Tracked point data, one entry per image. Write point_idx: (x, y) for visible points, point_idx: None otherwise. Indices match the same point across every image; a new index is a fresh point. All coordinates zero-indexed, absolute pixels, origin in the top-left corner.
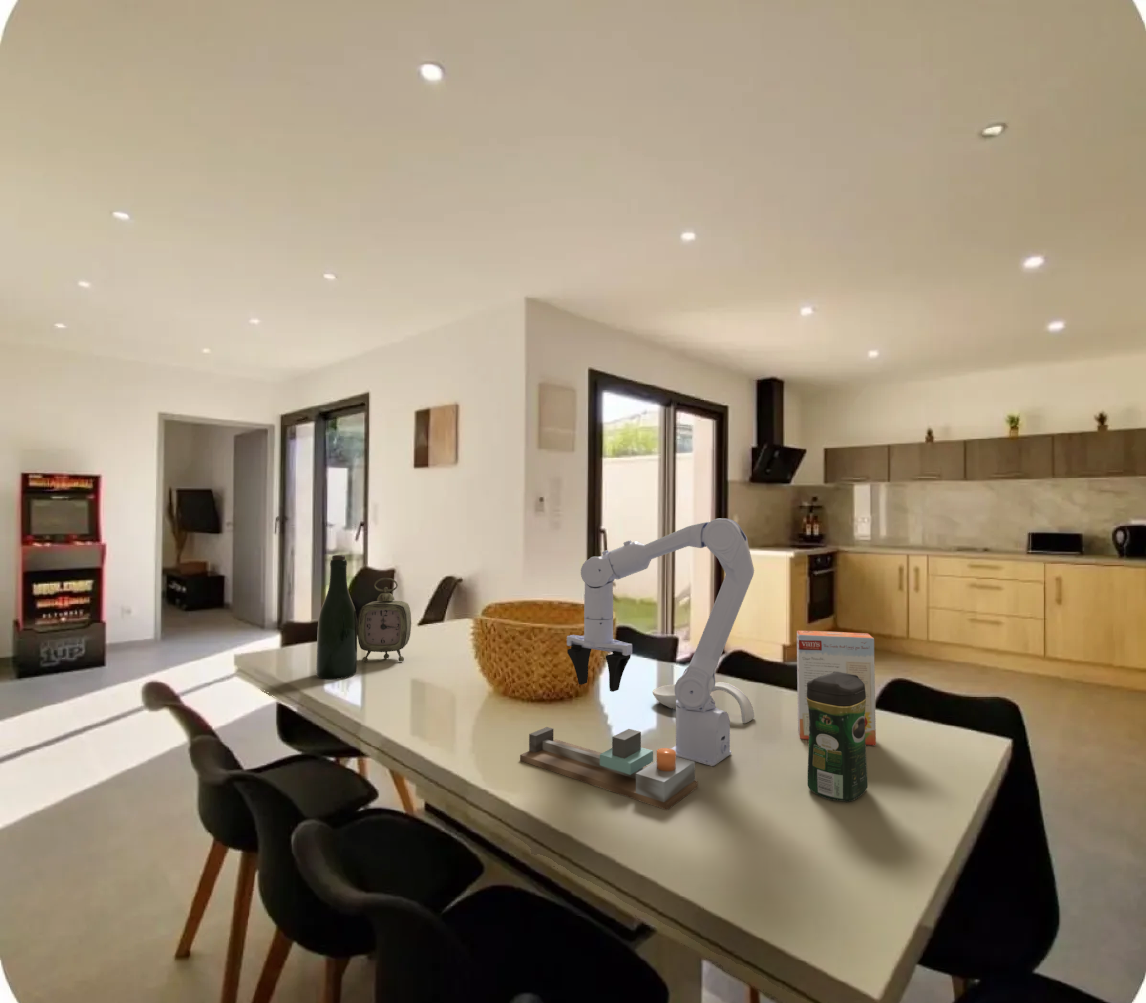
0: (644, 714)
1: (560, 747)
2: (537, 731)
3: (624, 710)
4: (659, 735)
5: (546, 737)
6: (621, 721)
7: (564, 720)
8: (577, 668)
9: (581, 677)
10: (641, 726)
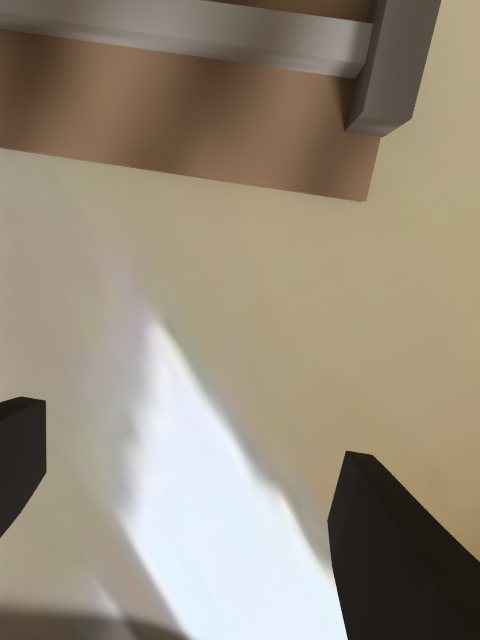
0: (211, 609)
1: (251, 8)
2: (430, 8)
3: (287, 618)
4: (77, 467)
5: (368, 54)
6: (247, 528)
7: (446, 455)
8: (443, 570)
9: (362, 505)
10: (166, 514)
